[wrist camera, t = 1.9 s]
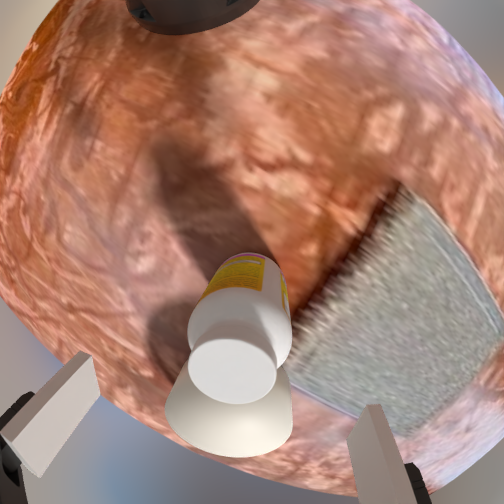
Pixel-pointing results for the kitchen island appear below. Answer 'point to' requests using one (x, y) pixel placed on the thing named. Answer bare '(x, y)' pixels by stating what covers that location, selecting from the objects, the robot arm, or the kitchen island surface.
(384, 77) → the kitchen island surface
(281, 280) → the supplement bottle
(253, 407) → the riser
